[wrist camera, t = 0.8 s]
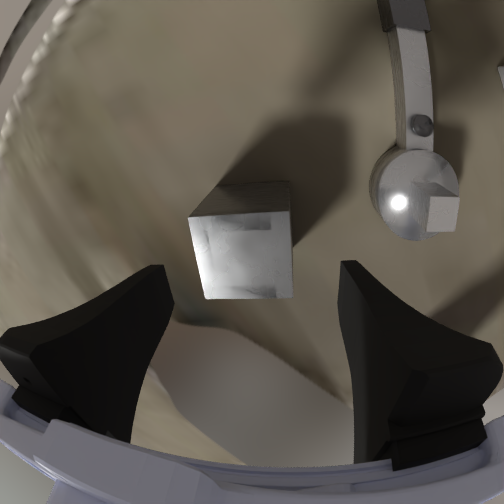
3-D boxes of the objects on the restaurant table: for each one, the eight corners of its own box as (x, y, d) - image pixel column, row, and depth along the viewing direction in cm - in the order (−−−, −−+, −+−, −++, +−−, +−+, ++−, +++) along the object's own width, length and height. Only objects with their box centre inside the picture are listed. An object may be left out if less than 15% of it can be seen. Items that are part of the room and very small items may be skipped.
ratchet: (437, 225, 18) (472, 260, 14) (367, 226, 19) (389, 265, 15) (411, -52, 8) (438, -80, 3) (335, -65, 9) (346, -104, 4)
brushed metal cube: (292, 248, 21) (293, 297, 16) (225, 250, 22) (205, 298, 16) (289, 180, 19) (289, 211, 13) (215, 185, 19) (187, 217, 14)
